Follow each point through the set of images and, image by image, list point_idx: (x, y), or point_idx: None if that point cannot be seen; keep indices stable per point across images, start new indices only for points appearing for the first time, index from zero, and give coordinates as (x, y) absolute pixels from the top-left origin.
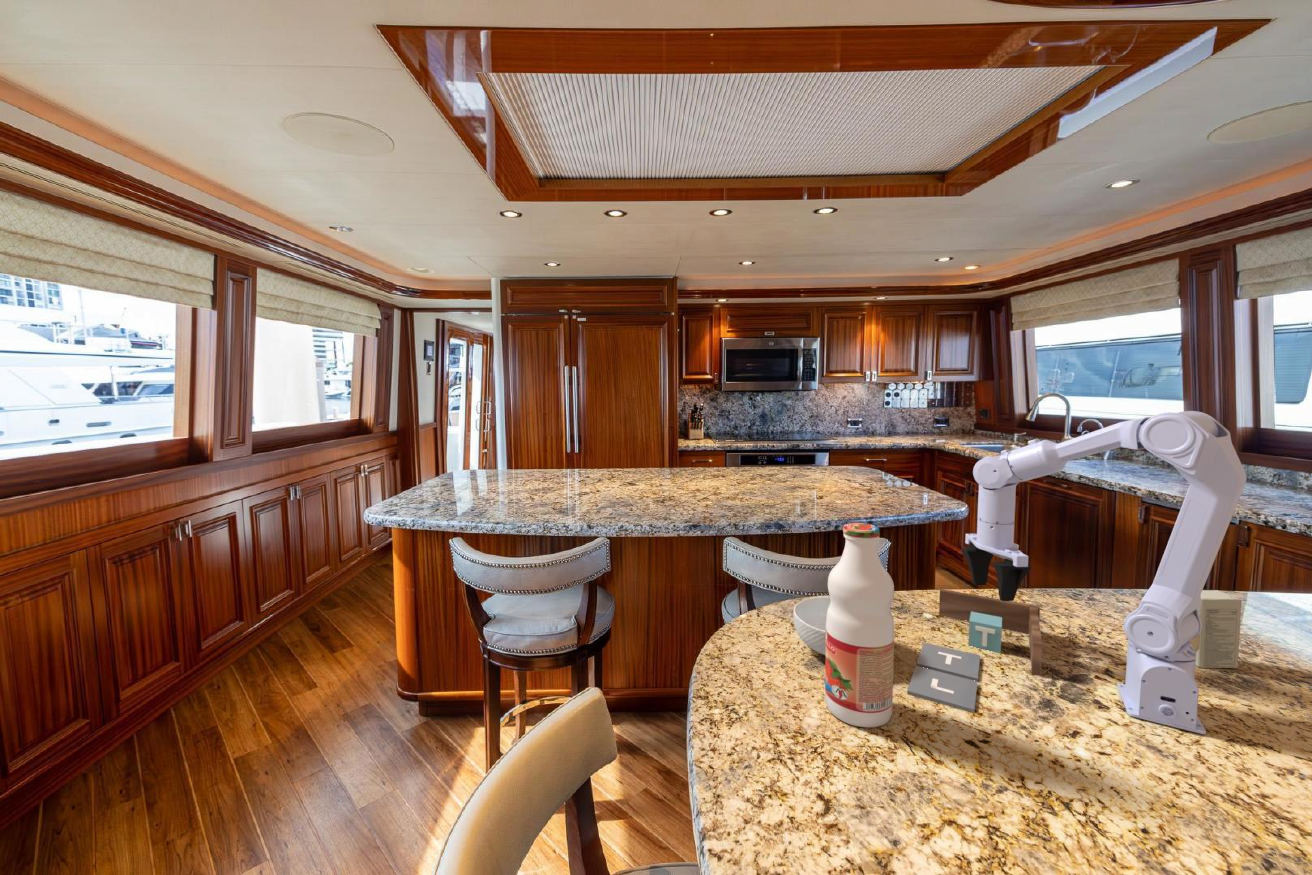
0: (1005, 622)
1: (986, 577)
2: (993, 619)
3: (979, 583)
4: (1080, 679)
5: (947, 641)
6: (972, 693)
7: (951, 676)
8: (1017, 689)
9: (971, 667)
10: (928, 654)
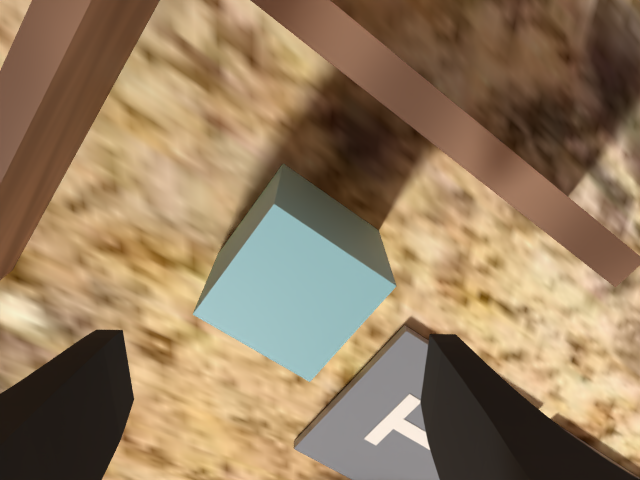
0: (122, 41)
1: (93, 370)
2: (300, 266)
3: (123, 382)
4: (627, 58)
5: (268, 359)
6: None
7: None
8: (607, 332)
9: None
10: (377, 470)
